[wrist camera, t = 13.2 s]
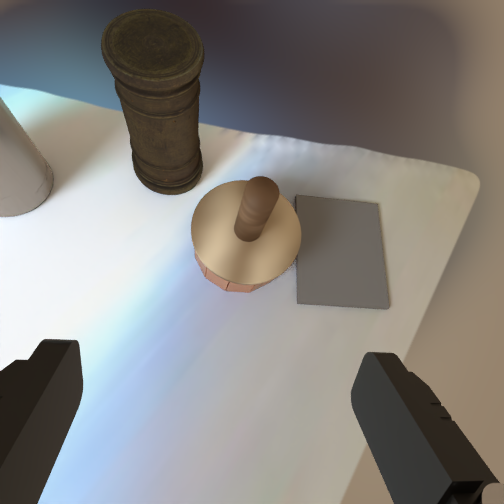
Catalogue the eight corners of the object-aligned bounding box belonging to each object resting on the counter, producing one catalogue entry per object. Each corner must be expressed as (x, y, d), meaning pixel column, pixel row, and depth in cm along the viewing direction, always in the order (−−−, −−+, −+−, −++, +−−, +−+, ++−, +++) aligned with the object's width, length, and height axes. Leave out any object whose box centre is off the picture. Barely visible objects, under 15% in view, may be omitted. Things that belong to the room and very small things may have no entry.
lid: (185, 280, 33) (183, 252, 25) (196, 178, 37) (197, 124, 29) (300, 288, 35) (333, 264, 27) (298, 190, 39) (326, 142, 31)
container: (194, 202, 43) (195, 96, 26) (125, 187, 42) (79, 66, 25) (209, 147, 46) (218, 21, 29) (144, 131, 45) (116, -8, 28)
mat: (297, 303, 40) (298, 302, 40) (295, 196, 46) (296, 194, 45) (386, 309, 42) (389, 308, 42) (375, 205, 47) (377, 203, 47)
